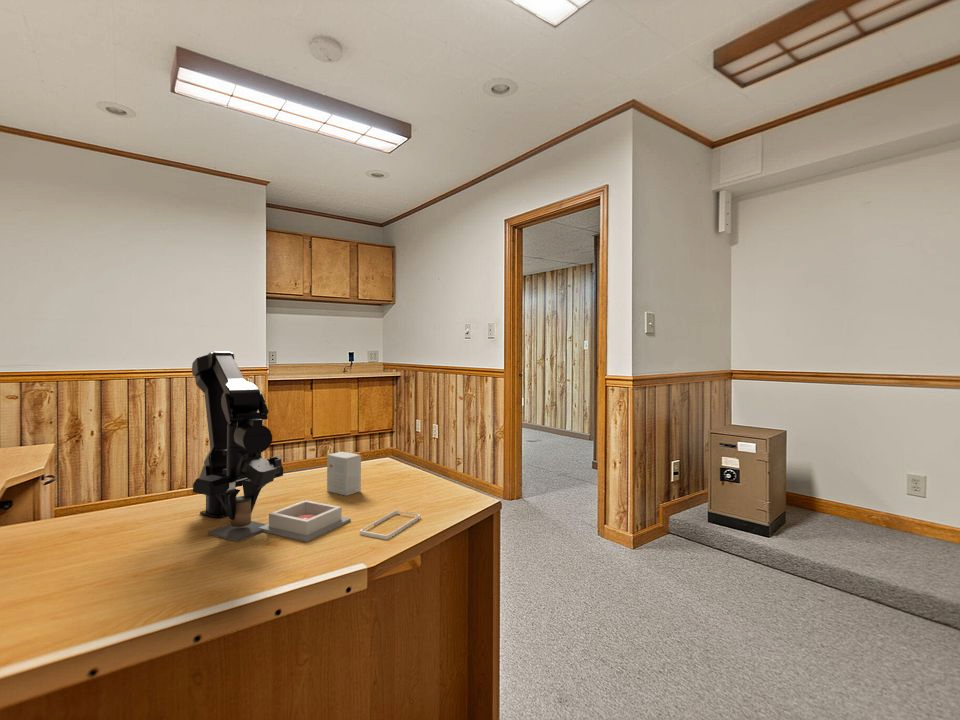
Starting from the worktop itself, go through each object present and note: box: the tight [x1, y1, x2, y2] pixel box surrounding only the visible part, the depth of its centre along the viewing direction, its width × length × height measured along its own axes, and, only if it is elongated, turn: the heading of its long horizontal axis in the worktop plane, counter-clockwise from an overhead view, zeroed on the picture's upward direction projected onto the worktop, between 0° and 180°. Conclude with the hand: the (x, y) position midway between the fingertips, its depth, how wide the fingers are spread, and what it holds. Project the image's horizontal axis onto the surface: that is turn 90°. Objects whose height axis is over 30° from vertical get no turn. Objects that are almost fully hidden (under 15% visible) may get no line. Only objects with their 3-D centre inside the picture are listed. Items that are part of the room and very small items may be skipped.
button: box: [297, 515, 315, 520], centre depth 110 cm, size 4×4×1 cm
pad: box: [207, 520, 267, 543], centre depth 106 cm, size 9×9×1 cm
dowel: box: [230, 495, 252, 527], centre depth 106 cm, size 4×4×6 cm
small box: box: [326, 451, 362, 496], centre depth 137 cm, size 8×6×10 cm
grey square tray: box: [258, 499, 351, 543], centre depth 110 cm, size 14×14×4 cm
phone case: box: [359, 510, 421, 540], centre depth 111 cm, size 7×1×15 cm
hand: (240, 516), depth 106 cm, fingers closed on dowel, 4 cm apart
